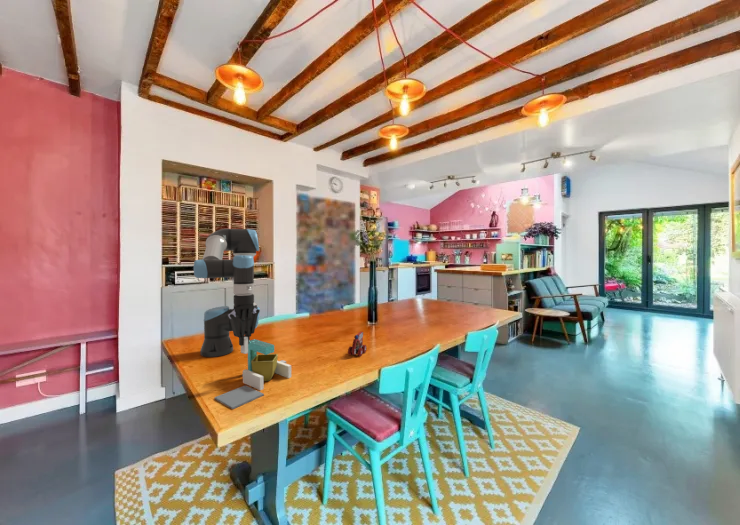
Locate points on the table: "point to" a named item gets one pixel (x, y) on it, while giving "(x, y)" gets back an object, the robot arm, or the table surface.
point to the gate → (258, 350)
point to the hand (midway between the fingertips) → (244, 352)
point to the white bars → (257, 380)
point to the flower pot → (265, 365)
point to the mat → (239, 396)
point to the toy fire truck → (357, 345)
